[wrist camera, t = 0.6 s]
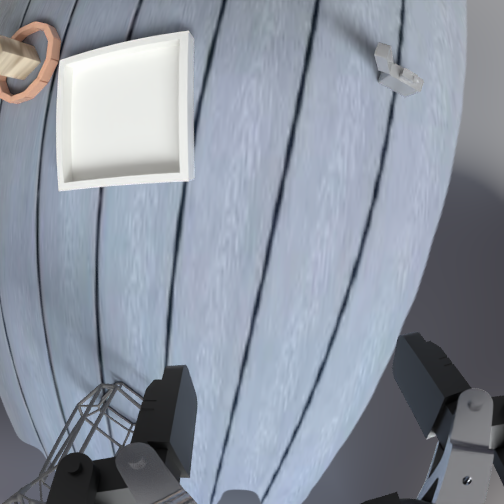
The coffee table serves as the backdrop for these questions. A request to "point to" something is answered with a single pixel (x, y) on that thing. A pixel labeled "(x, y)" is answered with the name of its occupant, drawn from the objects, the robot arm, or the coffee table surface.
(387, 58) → the lighter
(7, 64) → the birch block
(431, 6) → the coffee table surface
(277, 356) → the coffee table surface
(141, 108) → the tray
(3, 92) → the orange ring
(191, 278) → the coffee table surface
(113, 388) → the geometric lantern
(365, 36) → the coffee table surface
